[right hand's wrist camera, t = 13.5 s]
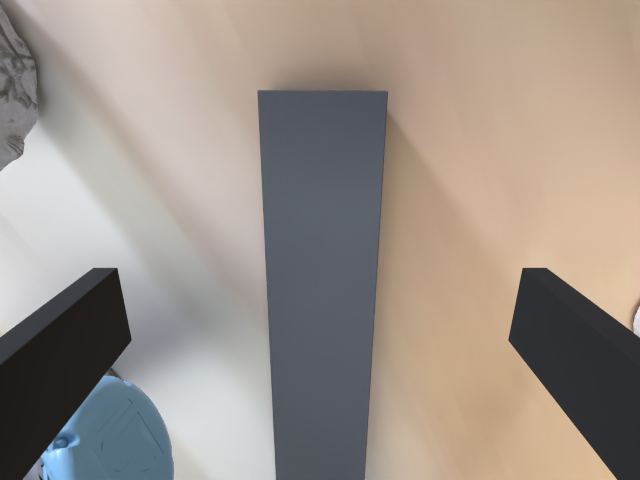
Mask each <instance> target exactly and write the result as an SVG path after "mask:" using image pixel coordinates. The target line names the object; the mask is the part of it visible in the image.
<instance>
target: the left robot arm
mask: <svg viewBox="0 0 640 480" xmlns="http://www.w3.org/2000/svg"><path fill="white" fill-rule="evenodd" d="M171 449H172V447H171V442H170V438H169V435H168V432H167V429H166V426H165V424H164V421H163V419H162V417H161V415H160V414H159V412H158V410H157V408H156V407H155V405H154V404H153V403H152V401H151V400H150V399H149V397H148V396H147V395H146V394H145V393H144V392H143V391H142V390H140V389H139V388H138V387H137V386H135V385H134V384H132V383H130V382H128V381H122V380H121V379H120V378H117V377H115V375H114V374H113V372H112V371H111V370H110V369H109V370H108V371H107V372H106V374H105V375H104V376H103V378H102V379H101V380H100V381H99V383H98V384H97V385H96V386H95V388H94V389H93V390H92V392H91V393H90V394H89V395H88V397H87V398H86V399H85V401H84V402H83V403H82V404H81V406H80V407H79V408H78V410H77V411H76V412H75V413H74V415H73V416H72V417H71V418H70V420H69V421H68V422H67V424H66V425H65V426H64V427H63V429H62V430H61V431H60V433H59V434H58V435H57V436H56V438H55V439H54V440H53V441H52V443H51V444H50V445H49V447H48V448H47V449H46V450H45V452H44V453H43V454H42V456H41V457H40V458H39V459H38V461H37V462H36V463H35V465H34V466H33V467H32V468H31V470H30V471H29V472H28V473H27V475H26V476H25V477H24V479H23V480H173V479H174V462H173V458H172V451H171Z"/></svg>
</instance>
